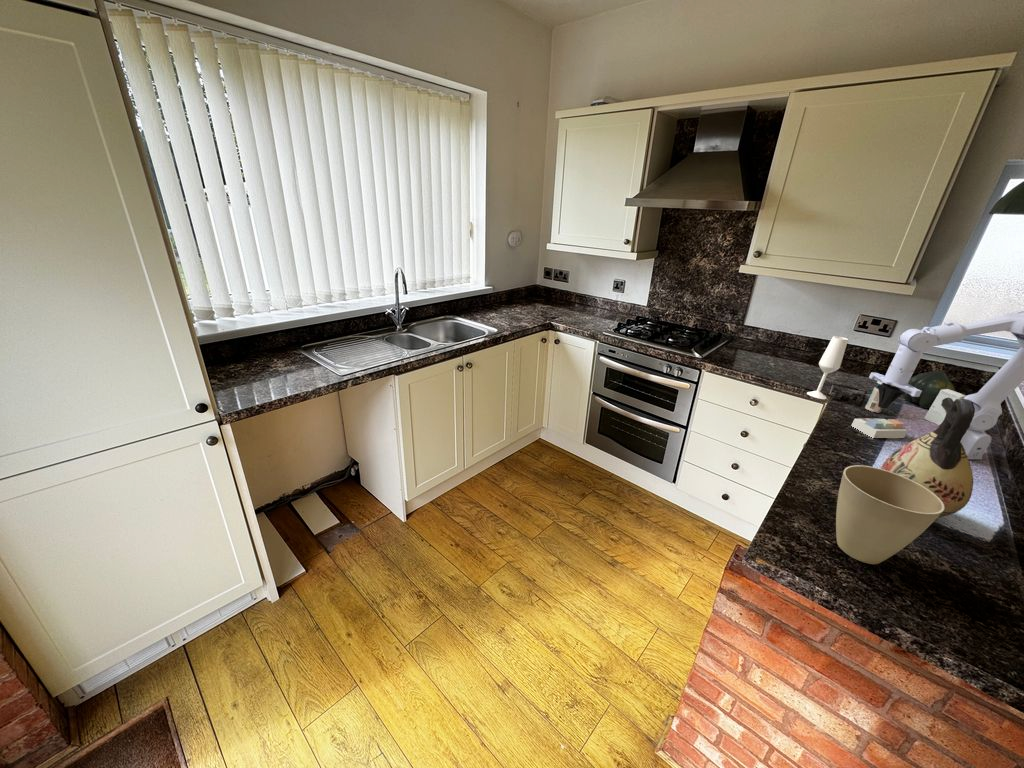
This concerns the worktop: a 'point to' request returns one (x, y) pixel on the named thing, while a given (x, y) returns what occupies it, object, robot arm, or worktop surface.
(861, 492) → the plant pot
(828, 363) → the champagne flute
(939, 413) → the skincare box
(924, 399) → the squash
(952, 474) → the ceramic jug
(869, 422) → the slate blue key
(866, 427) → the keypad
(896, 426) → the terracotta key
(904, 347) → the robot arm
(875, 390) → the beige capped bottle
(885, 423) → the sage key
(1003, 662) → the worktop surface
